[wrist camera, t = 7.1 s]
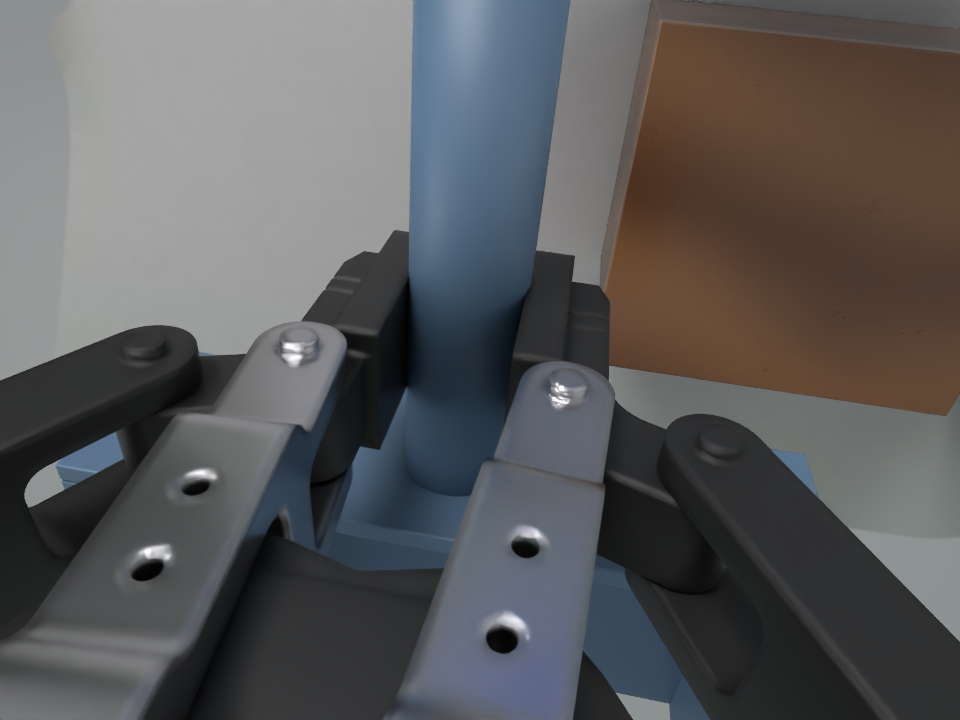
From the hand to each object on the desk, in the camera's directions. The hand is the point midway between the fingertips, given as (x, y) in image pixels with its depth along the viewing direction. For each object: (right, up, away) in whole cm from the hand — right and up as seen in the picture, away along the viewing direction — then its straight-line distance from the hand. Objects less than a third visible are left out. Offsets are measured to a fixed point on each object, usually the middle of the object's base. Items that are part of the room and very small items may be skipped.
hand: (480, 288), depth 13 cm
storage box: (+14, +9, +20) cm, 26 cm away
